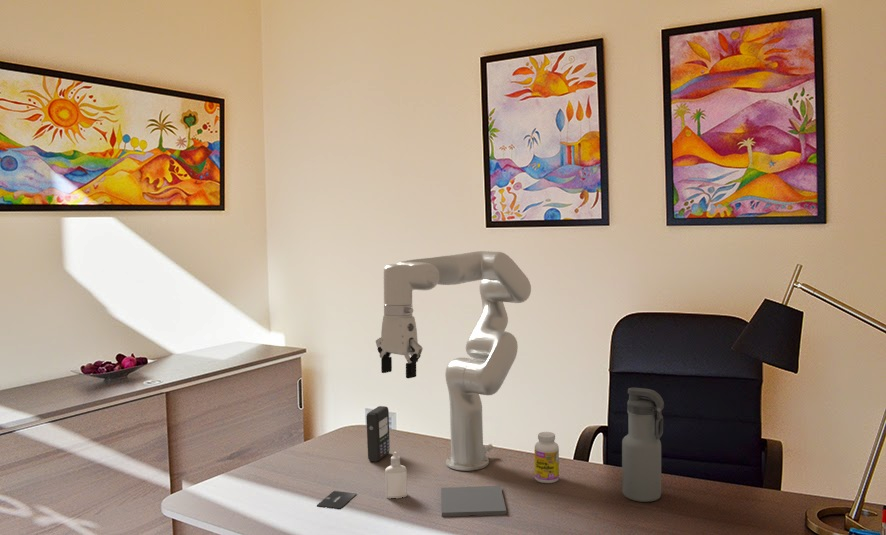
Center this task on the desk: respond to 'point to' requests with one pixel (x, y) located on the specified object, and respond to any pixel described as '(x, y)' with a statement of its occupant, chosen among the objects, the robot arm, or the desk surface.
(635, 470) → the water bottle
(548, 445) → the supplement bottle
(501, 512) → the charcoal mat
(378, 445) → the card reader
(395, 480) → the eye dropper bottle
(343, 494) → the solid state drive
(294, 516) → the desk surface
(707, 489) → the desk surface
